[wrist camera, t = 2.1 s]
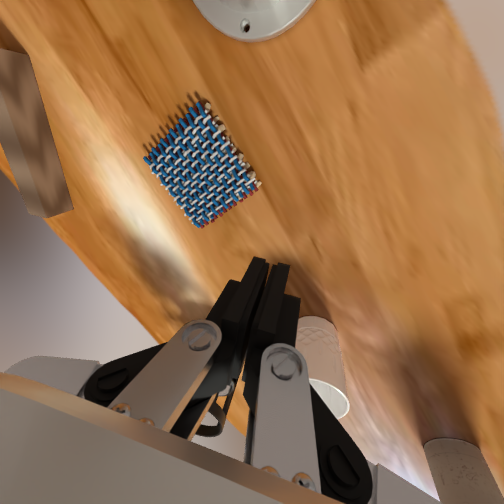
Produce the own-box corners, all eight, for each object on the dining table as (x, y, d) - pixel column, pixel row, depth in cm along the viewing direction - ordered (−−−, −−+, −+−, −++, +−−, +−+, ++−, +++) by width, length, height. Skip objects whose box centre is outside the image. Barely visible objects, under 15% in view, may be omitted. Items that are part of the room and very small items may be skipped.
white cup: (301, 303, 32) (294, 367, 24) (353, 327, 32) (365, 401, 23) (279, 336, 36) (266, 400, 28) (325, 357, 36) (326, 429, 28)
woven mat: (203, 228, 31) (196, 234, 29) (149, 158, 28) (138, 160, 26) (266, 186, 26) (262, 190, 24) (208, 96, 23) (199, 94, 22)
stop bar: (7, 52, 26) (-41, 41, 22) (28, 55, 25) (-17, 44, 22) (57, 205, 35) (29, 213, 32) (73, 209, 35) (46, 218, 31)
